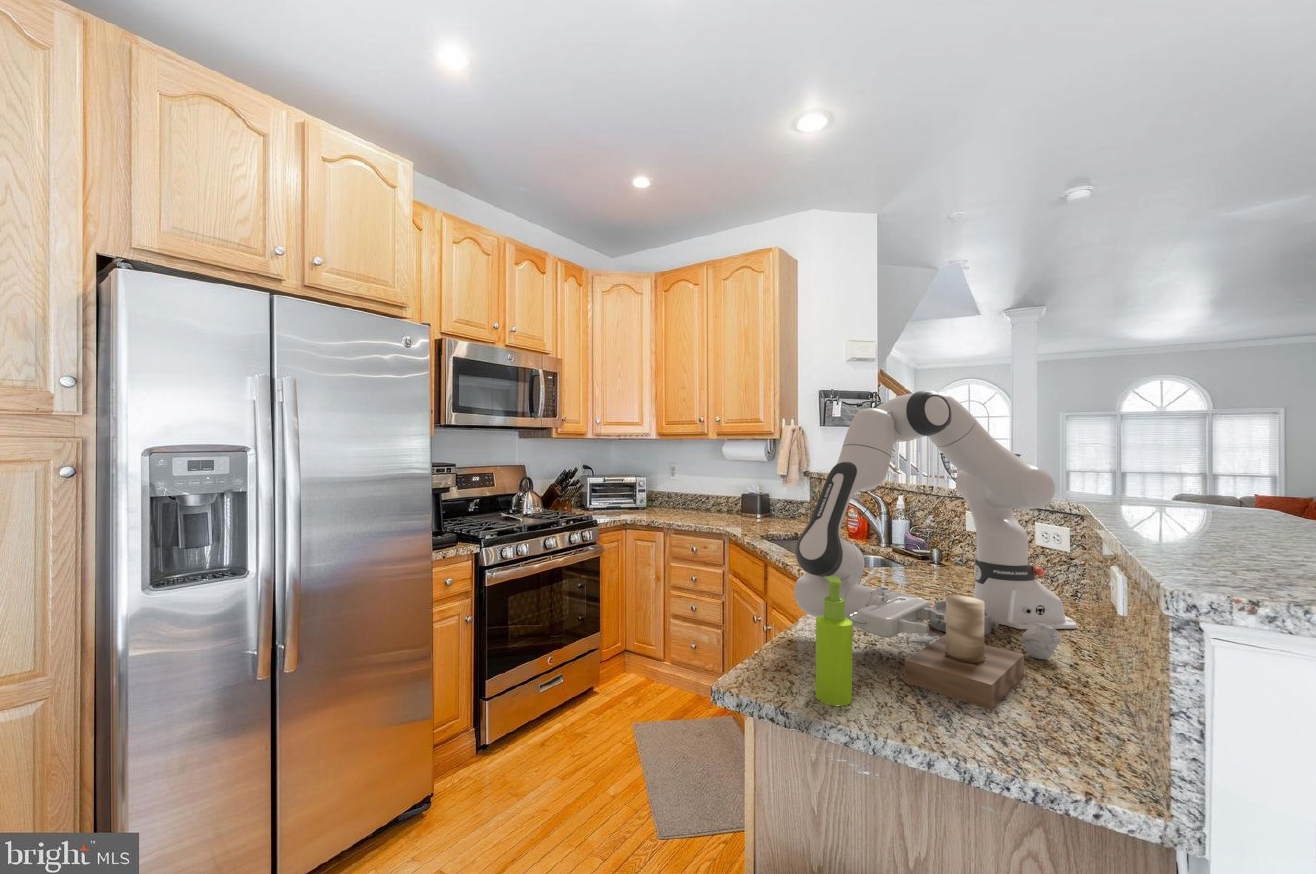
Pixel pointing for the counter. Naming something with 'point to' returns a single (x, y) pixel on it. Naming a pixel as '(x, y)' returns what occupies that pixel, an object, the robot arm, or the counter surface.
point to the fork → (918, 639)
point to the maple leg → (965, 629)
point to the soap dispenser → (834, 649)
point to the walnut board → (965, 674)
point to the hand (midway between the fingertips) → (936, 624)
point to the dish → (941, 608)
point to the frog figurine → (1041, 641)
